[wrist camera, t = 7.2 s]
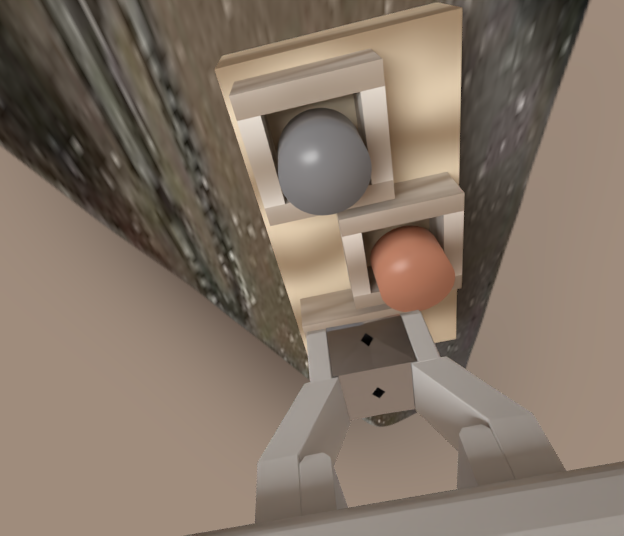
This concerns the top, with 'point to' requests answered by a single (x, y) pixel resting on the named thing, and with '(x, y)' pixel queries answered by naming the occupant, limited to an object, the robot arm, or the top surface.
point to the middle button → (411, 269)
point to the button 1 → (322, 162)
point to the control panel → (378, 141)
